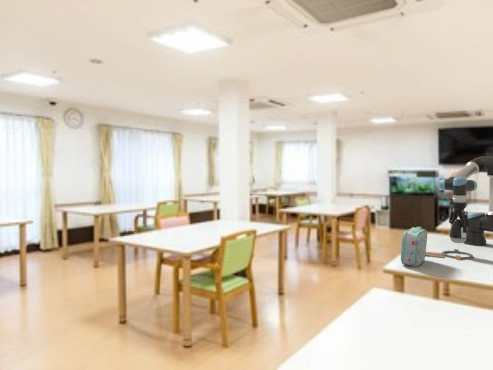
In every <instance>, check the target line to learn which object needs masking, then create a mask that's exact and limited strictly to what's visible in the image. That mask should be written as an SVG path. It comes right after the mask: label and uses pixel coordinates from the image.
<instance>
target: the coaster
mask: <svg viewBox="0 0 493 370" xmlns="http://www.w3.org/2000/svg"><path fill="white" fill-rule="evenodd" d="M425 257H431V258H437V259H438V258H439V259H444V258H445V256H444V255H443V254H442V252H433V251H426V255H425Z"/></svg>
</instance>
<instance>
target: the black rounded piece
mask: <svg viewBox="0 0 493 370" xmlns="http://www.w3.org/2000/svg"><path fill="white" fill-rule="evenodd" d="M461 227H462V224H461V221H460V218H457V219H456V220H455V221H454V222H453V224H452V226H451V225H450V230H449V234H448V237H449V240H450V241H451V242H453V243H454V244H464V243H463V242H465V241H466V238H467V231H466V238H461Z"/></svg>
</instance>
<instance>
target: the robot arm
mask: <svg viewBox="0 0 493 370" xmlns="http://www.w3.org/2000/svg"><path fill="white" fill-rule="evenodd" d="M478 173H486V175H487V177H488V178H489V180H488V181H489V183H488V184H489V186H488V187H489V189H488V190H489V191H488V193H489V194H488V211H487V212H486V213H485V212H469V213H468V211H467V210H466V211H465V208H467V207H466V206H467V203H466V202H467V192H474V191H476V189H477V188H478V183H477V182H476V181H475V180H474V179H468V178H471V177H472V176H473V175H476V174H478ZM438 186H439V188H440V189H439V190H442V191H452V208H450V215H449V219H448V223H450V227H451V226H452V224H453V222H454V221H455V220H456V219H460V221H461V224H462V227H461V238H466V231H467V238H466V241H465V242H463V243H462V244H465V245H470V246H487V239H486V236H485V232H489V233H490V232H491V233H493V156H485V155H484V156H479V157H476V158H473V159H471V160H470V161H469V162H467V163H465V166H464V167H462V168H461V169H459V170H458V171H457V172H455V173H454V174H452V175H451V176H450V177H448V178H441V179H440V180H439V183H438Z"/></svg>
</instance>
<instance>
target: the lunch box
mask: <svg viewBox="0 0 493 370" xmlns="http://www.w3.org/2000/svg"><path fill="white" fill-rule="evenodd" d="M427 243H428V230H427V229H425V228H422V226H416V227H414V226H412V227H411V228H409V229H407V230H404V232H403V236H402V238H401V243H400V244H401V246H400V261H401V264H402V265H405V266H411V267H415V268H416V267H418V266H420V265H422V264H423V262H424V261H425V258H426V256H425V255H426V252H427Z"/></svg>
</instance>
